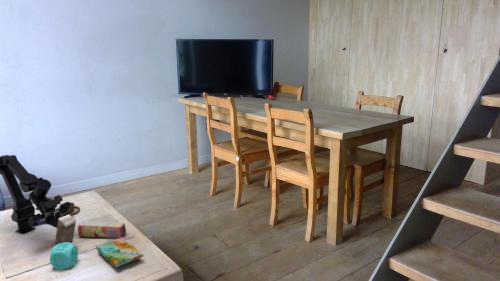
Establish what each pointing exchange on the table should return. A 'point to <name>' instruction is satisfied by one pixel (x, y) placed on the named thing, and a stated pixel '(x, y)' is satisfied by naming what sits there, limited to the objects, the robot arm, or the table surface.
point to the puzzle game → (119, 252)
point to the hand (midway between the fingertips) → (61, 228)
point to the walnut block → (65, 229)
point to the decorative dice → (64, 256)
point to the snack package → (101, 229)
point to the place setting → (72, 210)
